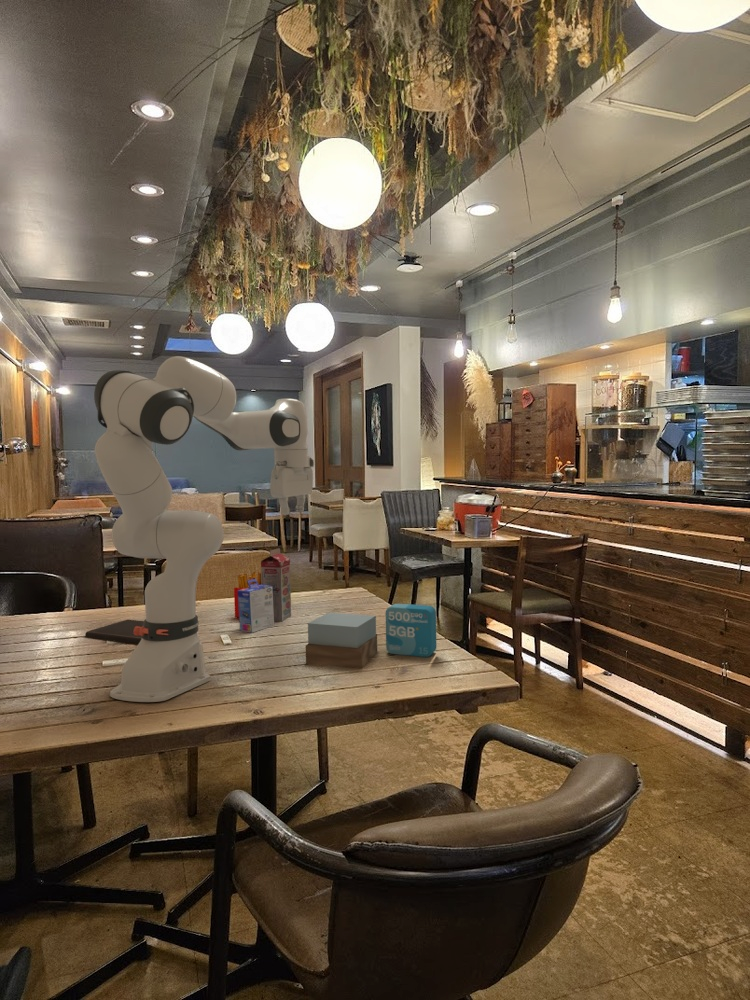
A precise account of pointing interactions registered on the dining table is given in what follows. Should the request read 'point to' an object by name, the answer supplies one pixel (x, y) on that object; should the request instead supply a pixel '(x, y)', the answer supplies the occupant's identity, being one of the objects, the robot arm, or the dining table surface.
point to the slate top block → (342, 630)
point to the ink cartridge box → (255, 607)
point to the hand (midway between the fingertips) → (292, 513)
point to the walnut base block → (341, 654)
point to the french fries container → (243, 585)
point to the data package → (411, 630)
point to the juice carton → (278, 583)
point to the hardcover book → (118, 632)
